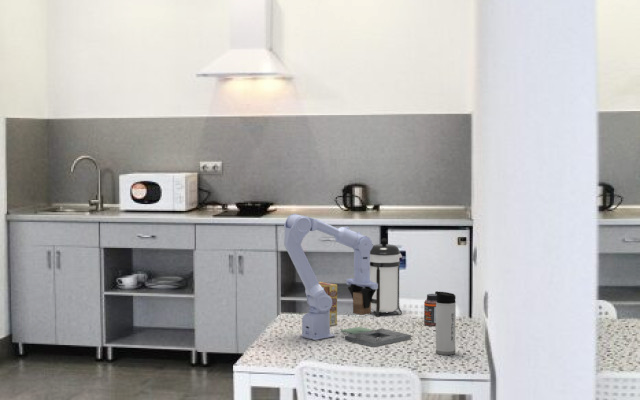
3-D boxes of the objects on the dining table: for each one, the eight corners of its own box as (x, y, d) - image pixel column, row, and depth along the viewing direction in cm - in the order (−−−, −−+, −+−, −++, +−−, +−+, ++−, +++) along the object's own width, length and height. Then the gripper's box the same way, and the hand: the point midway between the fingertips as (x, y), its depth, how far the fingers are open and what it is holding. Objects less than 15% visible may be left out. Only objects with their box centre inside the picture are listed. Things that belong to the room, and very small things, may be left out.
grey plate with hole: (373, 347, 302) (373, 342, 301) (344, 340, 312) (344, 335, 312) (410, 339, 313) (410, 334, 313) (382, 332, 324) (382, 328, 324)
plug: (361, 315, 320) (361, 294, 319) (353, 313, 323) (353, 292, 323) (370, 313, 323) (370, 292, 322) (362, 311, 326) (362, 291, 326)
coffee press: (372, 308, 370) (373, 235, 368) (408, 312, 362) (409, 237, 360) (353, 315, 355) (353, 239, 353) (390, 319, 347) (390, 241, 345)
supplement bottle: (420, 324, 338) (420, 294, 337) (430, 322, 342) (430, 292, 341) (433, 326, 334) (433, 296, 333) (443, 324, 338) (443, 294, 337)
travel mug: (433, 350, 297) (434, 290, 295) (454, 350, 296) (454, 290, 295) (435, 355, 290) (436, 293, 289) (456, 355, 290) (456, 293, 289)
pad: (358, 335, 320) (358, 334, 320) (341, 331, 326) (341, 330, 326) (376, 331, 325) (376, 330, 325) (359, 327, 332) (359, 326, 332)
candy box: (338, 324, 337) (338, 284, 336) (329, 326, 335) (329, 285, 334) (322, 321, 344) (322, 281, 343) (314, 322, 342) (313, 282, 341)
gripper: (384, 270, 319) (384, 308, 320) (356, 265, 330) (356, 302, 331) (369, 272, 315) (369, 310, 315) (342, 267, 326) (342, 304, 327)
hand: (361, 306), depth 323 cm, fingers closed on plug, 4 cm apart
